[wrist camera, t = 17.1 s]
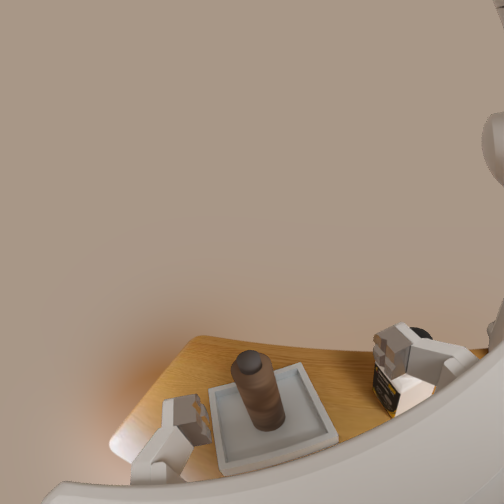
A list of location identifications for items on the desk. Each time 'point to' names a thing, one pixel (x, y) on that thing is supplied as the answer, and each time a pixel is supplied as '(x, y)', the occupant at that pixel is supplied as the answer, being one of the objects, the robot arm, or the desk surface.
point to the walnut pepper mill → (258, 390)
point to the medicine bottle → (401, 387)
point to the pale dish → (273, 442)
